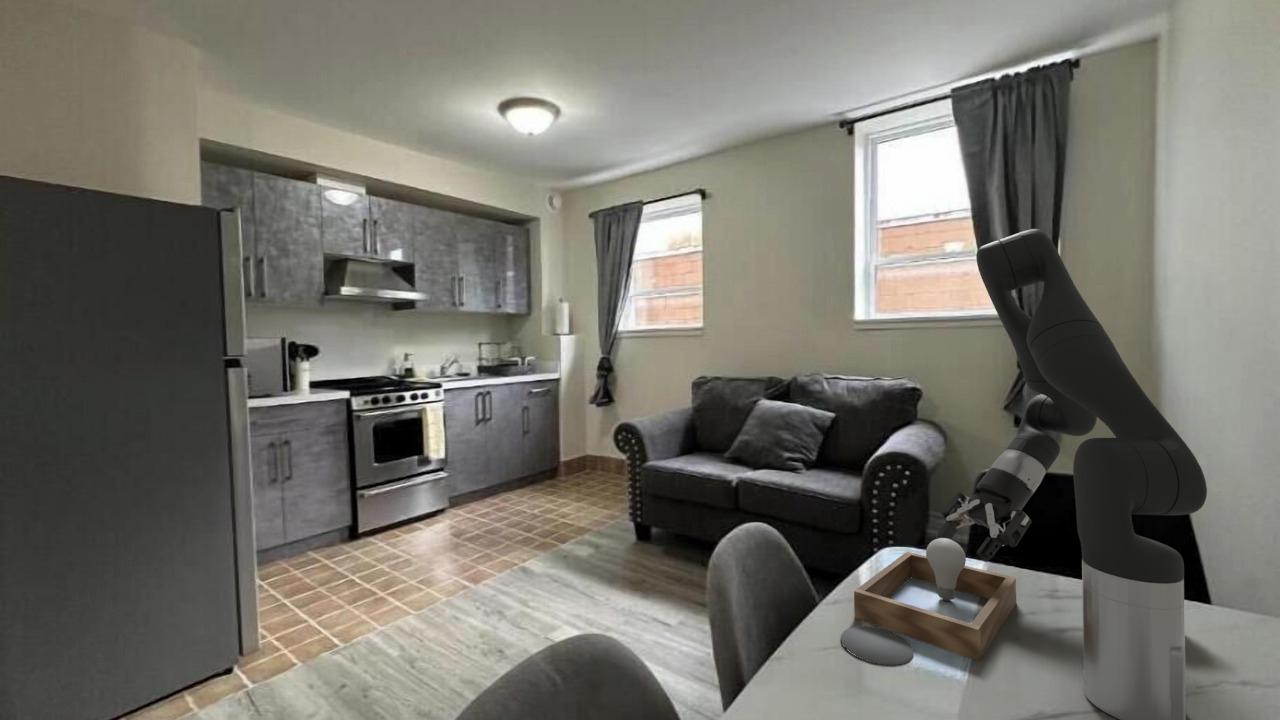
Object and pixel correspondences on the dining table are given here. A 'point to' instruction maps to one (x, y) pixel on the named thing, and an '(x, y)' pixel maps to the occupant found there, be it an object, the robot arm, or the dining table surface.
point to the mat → (877, 645)
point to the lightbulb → (946, 565)
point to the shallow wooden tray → (930, 625)
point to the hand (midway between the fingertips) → (960, 549)
